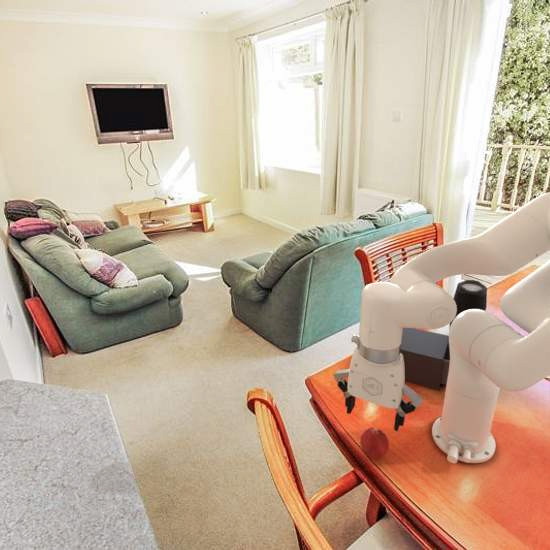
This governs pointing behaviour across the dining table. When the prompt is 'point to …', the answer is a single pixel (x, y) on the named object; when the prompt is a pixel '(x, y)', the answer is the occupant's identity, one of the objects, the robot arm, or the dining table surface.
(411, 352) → the dark grey box
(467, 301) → the portable speaker
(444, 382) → the basket
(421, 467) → the dining table surface
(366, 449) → the onion
